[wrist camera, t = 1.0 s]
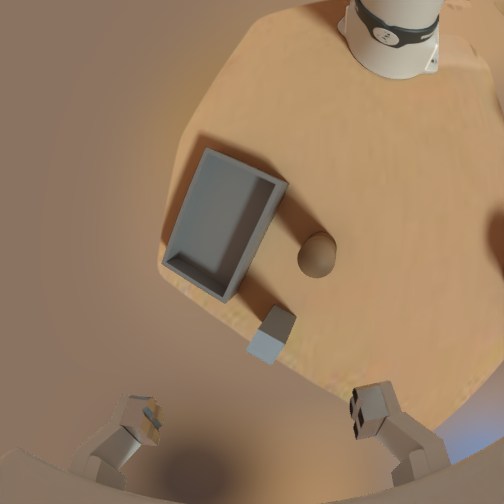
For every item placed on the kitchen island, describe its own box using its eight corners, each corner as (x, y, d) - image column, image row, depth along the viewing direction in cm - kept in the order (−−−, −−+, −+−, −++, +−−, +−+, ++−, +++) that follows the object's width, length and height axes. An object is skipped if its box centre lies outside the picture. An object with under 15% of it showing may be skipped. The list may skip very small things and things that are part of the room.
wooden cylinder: (314, 226, 44) (308, 233, 36) (342, 241, 43) (342, 252, 35) (300, 253, 46) (291, 266, 37) (327, 268, 45) (323, 284, 36)
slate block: (274, 304, 49) (258, 329, 40) (296, 316, 48) (285, 344, 39) (263, 323, 50) (245, 350, 41) (284, 335, 49) (271, 365, 40)
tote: (218, 151, 47) (205, 147, 42) (289, 183, 44) (283, 181, 39) (176, 257, 53) (161, 263, 49) (235, 294, 51) (225, 303, 46)
